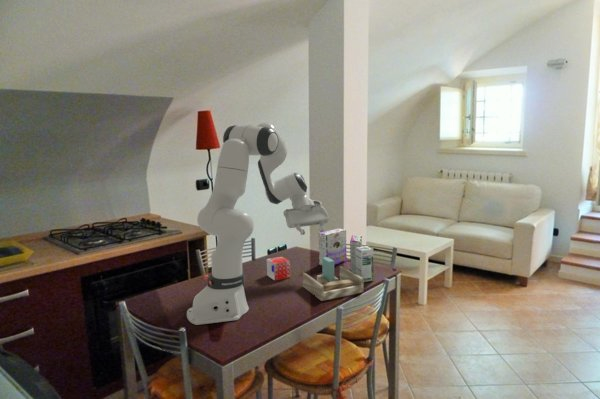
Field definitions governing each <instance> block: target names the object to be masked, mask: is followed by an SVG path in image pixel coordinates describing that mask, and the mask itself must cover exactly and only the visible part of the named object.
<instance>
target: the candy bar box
mask: <svg viewBox="0 0 600 399" xmlns="http://www.w3.org/2000/svg"><path fill="white" fill-rule="evenodd" d="M349 246H350V247H349V252H350V253H349V255H350V257H349V258H350V271H352V272H353V273H355V274H356V247H363V235H362V234H361V235H360V234H358V235H357V234H356V235H355V234H352V235H351V236H350V242H349Z"/></svg>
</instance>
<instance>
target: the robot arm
mask: <svg viewBox="0 0 600 399" xmlns="http://www.w3.org/2000/svg"><path fill="white" fill-rule="evenodd" d="M222 142H223V144H222V147H221V149H220V153H219V156H218V159H217V160H218V161H217V166H216V167H217V168H216V173H215V177H214V178H215V179H214V185H213V189H212V192H211V194H210V196H209V199H208V201H207V203H206V205H205V206H204V207H203V208H202V209H200V211H199V212H198V215H197V217H196V218H197V225H198V227H199V228H200V229H201V230H202V231H204V232H205V233H207V234H208V235H210V236H215V237H217V244H216V249H214V250H213V251H212V253H211V256H210V259H211V275H209V274H204V276H203V280H204V281H205V282H206V286H205V287H204V288H203V289H201V291H199V292H198V293H197V294H196V295H195V296H194V298H193V301H192V306H191V307H190V308H188V309H187V310H186V318H187V320H188V322H190V323H191V324H193V325H195V326H198V325H199V326H200V325H206V324H208V325H209V324H214V323H222V322H231V321H238V320H239V319H240V318H241V317H242V316H243V315H245V314H247V312H249V309H250V307H249V305H248V302H247V297H246V293H245V284H246V282H245V273H244V272H243V250H244V246H245V243H246V240H247V239H248V238H250V236H251V235H252V234H253V232H254V226H255V224H254V220H253V218H252V216H251V215H249V214H248V213H247V212H245V211H242V210H240V209H235V206H236V204H237V201H238V200H239V199H240V197H242V196H243V195H244V194H245V192H246V187H247V180H248V175H249V174H248V171H249V163H250V156H260V158H259V160H258V161H257V166H258V167H257V168H258V171H259V173H260V178H261V180H262V182H263V183H262V184H263V186H264V190H265V191H264V192H265V197H266V199H267V200H268V202H269V203H272V204H275V205H279V204H280V203H282V202H283V201H287V200H290V201H291V206H292V208H289V209H288V208H287V209H285V210H283V216H284V218H285V221H286V226H287V227H288V228H289V229H296V230H297V231H298V232H299V233H300V235H302V236H303V235H306V231H305V229H303V228H301V227H310V226H317V225H319V229H318V231H319V233H321V232H325V228H324V225H325V224H327V223H328V222H329V221H330V216H329V213H328V211H327V209H326V208H325V207H324V206H323V202H321V201H319V200H314V199H311V198H310V197H309V196H308V192H307V191H308V186H307V184H306V181H305V178H304V177H303V175H302V174H300V173H297V172H293V173H290V174H288V175H286V176H284V177H281V178H279V179H277V180H275V181H273V180H272V178H271V175H272V173H273V172H274V171H275V170H276V169H277V168H278V167H279V166H281V165H282V164H283V163H284V162H285V160H286V158H287V155H288V148H287V146H286V143H285V141H284V140H283V137H282V136H281V134H280V132H279V131H278V130H277V129H276V127H275V126H274V125H273V124H272V123H269V122H261V123H259V124H257V125H252V124H251V125H250V124H248V125H247V124H245V125H244V124H243V125H242V124H241V125H238V124H234V125H230V126H229V127H227V128H226V130H225V131H224V133H223V137H222Z"/></svg>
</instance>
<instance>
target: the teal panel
mask: <svg viewBox="0 0 600 399" xmlns="http://www.w3.org/2000/svg"><path fill="white" fill-rule="evenodd" d="M321 268H322V273H321V275H322V276H323V278H324V279H326V280H327V281H328V282H332V281H334V276H335V265H334V260H332V259H330V258H328V257H325V258H322V266H321Z"/></svg>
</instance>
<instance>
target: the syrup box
mask: <svg viewBox="0 0 600 399" xmlns="http://www.w3.org/2000/svg"><path fill="white" fill-rule="evenodd" d="M356 274H357V275H359V276H361V277H362V278H363V283H365V282H366V283H367V282H372V281H374V248H372V247H370V246H368V245H365V246H362V247H356Z"/></svg>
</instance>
